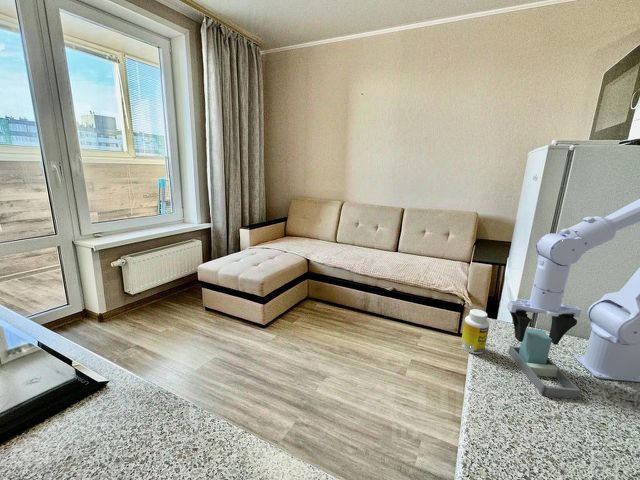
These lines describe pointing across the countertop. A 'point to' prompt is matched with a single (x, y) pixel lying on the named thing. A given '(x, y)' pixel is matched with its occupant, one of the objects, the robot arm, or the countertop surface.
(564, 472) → the countertop surface
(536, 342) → the plug
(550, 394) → the caddy
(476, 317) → the supplement bottle
